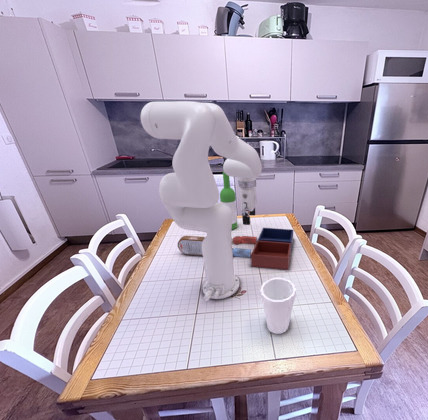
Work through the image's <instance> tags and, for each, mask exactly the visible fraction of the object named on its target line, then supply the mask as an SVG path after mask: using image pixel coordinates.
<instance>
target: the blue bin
mask: <svg viewBox="0 0 428 420" xmlns="http://www.w3.org/2000/svg"><path fill="white" fill-rule="evenodd" d="M257 241H269V242H283V243H291V251H293V250H292V249H293V244H294V243H293V242H294V229H290V228H289V229H287V228H276V227H275V228H274V227H273V228H272V227H262V229H261V231H260V233H259V235H258V237H257Z"/></svg>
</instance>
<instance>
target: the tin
mask: <svg viewBox="0 0 428 420" xmlns="http://www.w3.org/2000/svg"><path fill="white" fill-rule="evenodd" d="M205 237H206V236H199V235H197V236H195V235H183V236H181V237H180V238H179V240H178V241H177V248H178V250H179V251H180V253H182V254H184V255H188V256H199V257H200V256H202V257H203V254H202V242H203V240H204V238H205Z"/></svg>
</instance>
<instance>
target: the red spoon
mask: <svg viewBox="0 0 428 420" xmlns="http://www.w3.org/2000/svg"><path fill="white" fill-rule="evenodd" d="M232 241H233V242H232V244H234V245H239V244H252V245H256V243H257V241H258V237H257V236H252V235H242V236H241V235H236V236H233V238H232Z"/></svg>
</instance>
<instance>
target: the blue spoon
mask: <svg viewBox="0 0 428 420" xmlns="http://www.w3.org/2000/svg"><path fill="white" fill-rule="evenodd" d="M232 253H233V257H242V258H251V254H252V249H250V248H239V247H235V248H233V247H232Z"/></svg>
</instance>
